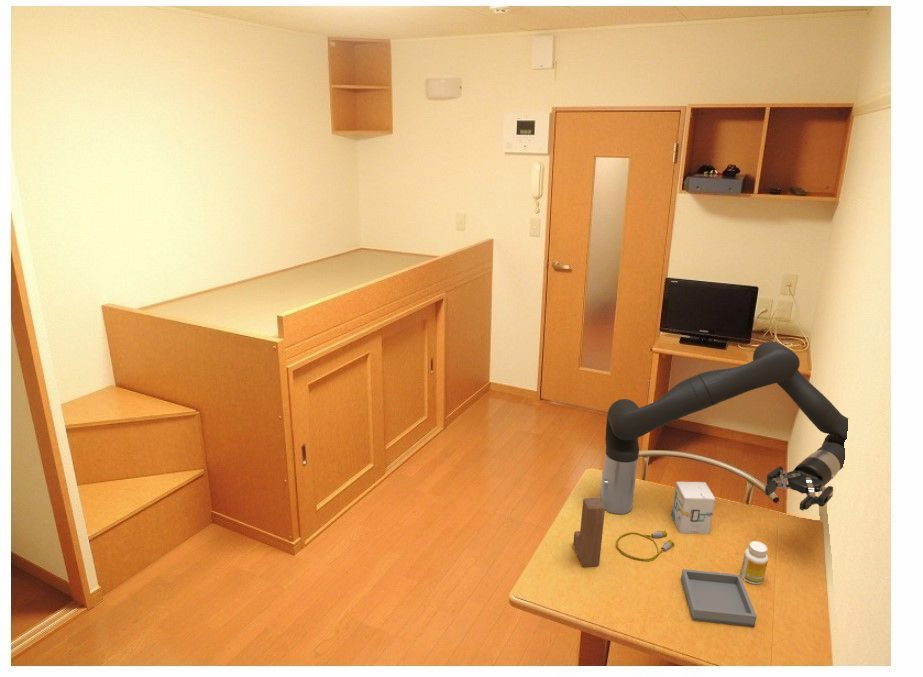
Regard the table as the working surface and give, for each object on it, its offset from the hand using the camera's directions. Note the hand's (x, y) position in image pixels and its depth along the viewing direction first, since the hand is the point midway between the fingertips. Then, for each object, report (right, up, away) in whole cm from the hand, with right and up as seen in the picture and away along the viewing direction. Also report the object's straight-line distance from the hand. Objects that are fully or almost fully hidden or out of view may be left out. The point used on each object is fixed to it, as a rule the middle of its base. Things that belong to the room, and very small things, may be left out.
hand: (783, 499), depth 152 cm
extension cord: (-30, -17, +14) cm, 37 cm away
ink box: (-15, -13, +23) cm, 30 cm away
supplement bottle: (-7, -21, +3) cm, 22 cm away
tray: (-19, -23, -5) cm, 30 cm away
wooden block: (-47, -17, +10) cm, 51 cm away
